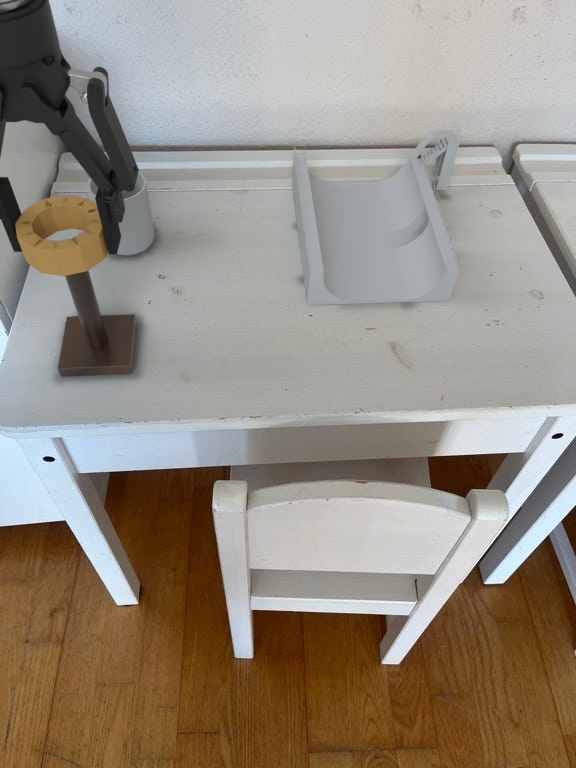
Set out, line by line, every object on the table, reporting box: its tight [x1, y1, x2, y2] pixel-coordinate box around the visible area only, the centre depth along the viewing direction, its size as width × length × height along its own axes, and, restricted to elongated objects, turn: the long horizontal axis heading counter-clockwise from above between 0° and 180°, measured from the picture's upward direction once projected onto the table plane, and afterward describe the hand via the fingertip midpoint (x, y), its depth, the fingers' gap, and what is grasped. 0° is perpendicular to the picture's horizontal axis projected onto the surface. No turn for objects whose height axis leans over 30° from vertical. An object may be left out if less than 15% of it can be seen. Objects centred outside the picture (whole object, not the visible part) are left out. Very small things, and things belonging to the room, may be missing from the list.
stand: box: [57, 270, 137, 378], centre depth 69 cm, size 8×8×14 cm
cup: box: [76, 171, 156, 257], centre depth 83 cm, size 7×10×9 cm
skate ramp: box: [291, 121, 463, 306], centre depth 85 cm, size 25×23×10 cm
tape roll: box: [15, 194, 109, 277], centre depth 61 cm, size 8×8×3 cm
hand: (68, 243), depth 62 cm, fingers closed on tape roll, 8 cm apart
